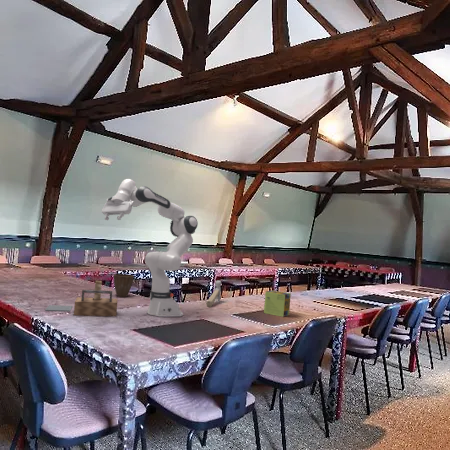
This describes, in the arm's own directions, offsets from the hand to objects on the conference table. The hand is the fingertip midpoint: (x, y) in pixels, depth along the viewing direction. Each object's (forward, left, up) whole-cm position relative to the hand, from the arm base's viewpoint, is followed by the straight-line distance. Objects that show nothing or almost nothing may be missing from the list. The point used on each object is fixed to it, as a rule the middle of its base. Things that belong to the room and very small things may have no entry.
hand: (112, 219), depth 253 cm
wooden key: (+5, -7, -53) cm, 54 cm away
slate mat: (+27, -14, -57) cm, 65 cm away
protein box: (-117, -18, -58) cm, 131 cm away
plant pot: (-11, -66, -57) cm, 88 cm away
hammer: (-78, -48, -58) cm, 108 cm away
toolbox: (+5, -4, -57) cm, 58 cm away
